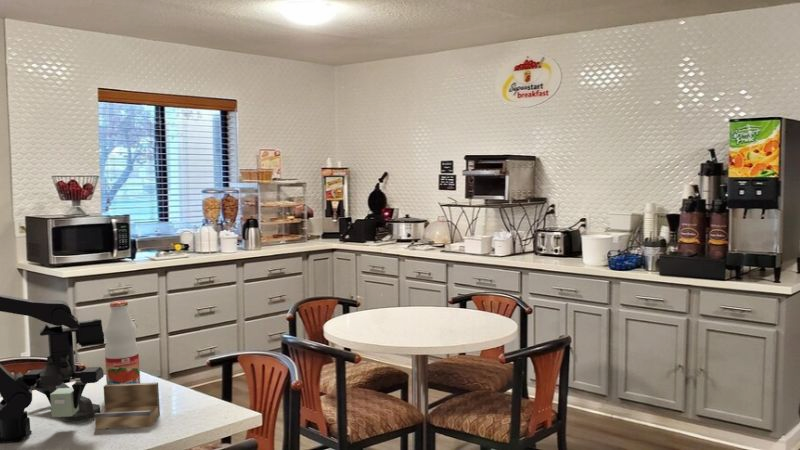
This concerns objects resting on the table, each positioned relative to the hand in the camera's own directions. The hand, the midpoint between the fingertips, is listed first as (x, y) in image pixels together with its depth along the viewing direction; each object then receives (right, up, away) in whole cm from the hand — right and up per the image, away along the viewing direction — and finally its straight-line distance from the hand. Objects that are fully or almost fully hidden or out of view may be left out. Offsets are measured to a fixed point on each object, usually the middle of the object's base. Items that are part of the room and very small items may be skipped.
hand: (65, 408), depth 185 cm
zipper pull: (-6, -5, +15) cm, 17 cm away
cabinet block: (0, -1, 0) cm, 1 cm away
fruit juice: (+4, -3, +29) cm, 29 cm away
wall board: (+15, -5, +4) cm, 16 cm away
